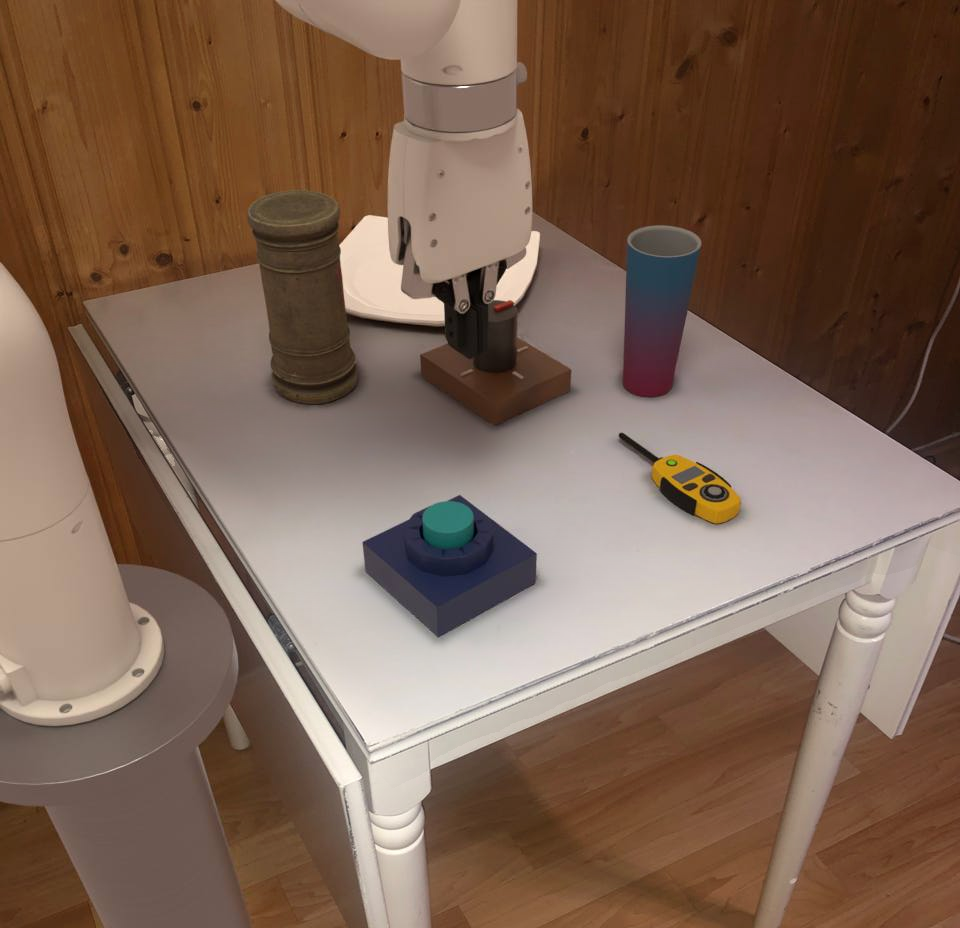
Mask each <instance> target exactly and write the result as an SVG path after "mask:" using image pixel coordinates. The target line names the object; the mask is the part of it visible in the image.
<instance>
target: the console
mask: <svg viewBox="0 0 960 928" xmlns="http://www.w3.org/2000/svg"><path fill="white" fill-rule="evenodd" d="M419 358H420V361H419V362H420V377H422V378H423V379H425V380H427V381H428V382H429V383H431V384H432V385H434V386H435V387H437V388H438V389H440V390H441V391H442V392H444V393H445V394H447V395H448V396H450V397H452V398H453V399H454V400H456V401H457V402H458V403H460V404H462V405H463V406H464V407H466V408H468V409H469V410H470V411H472V412H474V413H475V414H476V415H478V416H480V417H481V418H482V419H484V420H485V421H487V422H488V423H490V424H492V426H497V425H499V424H502V423H504V422H506V421H508V420H509V419H512V418H515V417H517V416H518V415H520V414H523V413H525V412H528V411H530V410H532V409H534V408H537V407H538V406H540V405H543V404H545V403H547V402H549V401H551V400H554V399H556V398H558V397H560V396H562V395H564V394H567V393H569V392H571V381H572V369H571V368H570V367H568V366H567V365H564V364H563V363H561V362H560V361H558V360H557V359H554V358H553V357H551V356H550V355H548V354H546V353H545V352H543V351H541V350H539V349H538V348H536V347H534V346H533V345H531V344H530V343H528V342H526V341H525V340H523V339H521V338H519V337H518V336H517V362H516V364H515V366H514V367H513V368H511V369H509V370H507V371H503V372H487V371H483V370H481V369H479V368H477V367H476V366H475V365H474V363H473V358H472V359H468V358H467V357H465V356H464V355H462V354H461V353H459V352H458V351H456V350H455V349H453V348H452V347H450V346H449V345H448V342H447V343H445V344H443V345H440V346H437V347H435V348H433V349H430V350H428V351H425V352H422V353H420V354H419Z"/></svg>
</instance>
